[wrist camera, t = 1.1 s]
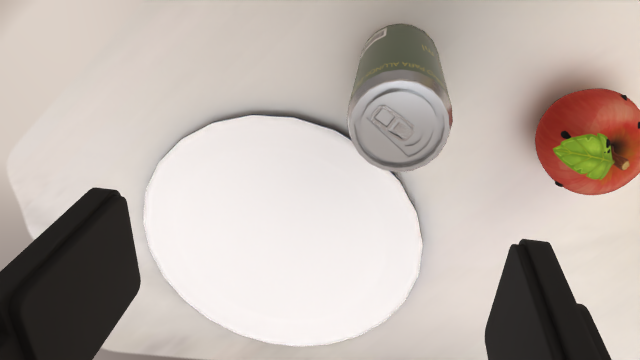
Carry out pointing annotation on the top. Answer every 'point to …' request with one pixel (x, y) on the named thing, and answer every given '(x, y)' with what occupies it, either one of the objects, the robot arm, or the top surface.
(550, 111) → the apple
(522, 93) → the top surface
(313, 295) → the plate
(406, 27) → the beer can
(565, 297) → the robot arm
